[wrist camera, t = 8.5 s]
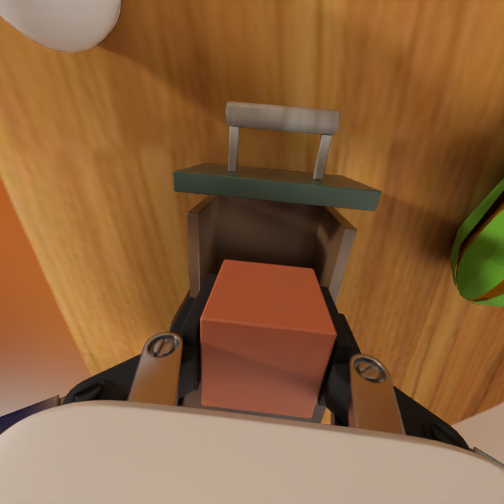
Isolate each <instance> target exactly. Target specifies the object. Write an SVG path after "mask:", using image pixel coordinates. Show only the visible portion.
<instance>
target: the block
mask: <svg viewBox="0 0 504 504" xmlns="http://www.w3.org/2000/svg"><path fill="white" fill-rule="evenodd" d="M336 336H337V333H336V330H335V327H334V324H333V322H332V319H331V316H330V314H329V311H328V308H327V305H326V303H325V300H324V297H323V294H322V292H321V289H320V286H319V283H318V281H317V278H316V275H315V272H314V270H313V269H311V268H302V267H292V266H283V265H273V264H264V263H254V262H245V261H235V260H224V261H223V264H222V266H221V269H220V271H219V274H218V276H217V279H216V281H215V284H214V286H213V289H212V291H211V294H210V296H209V298H208V301H207V303H206V306H205V308H204V311H203V313H202V316H201V318H200V340H201V404H202V405H205V406H214V407H222V408H230V409H238V410H246V411H254V412H262V413H271V414H279V415H287V416H295V417H303V418H311V417H312V414H313V411H314V407H315V404H316V401H317V398H318V394H319V391H320V388H321V385H322V381H323V378H324V375H325V372H326V368H327V365H328V362H329V359H330V355H331V352H332V349H333V346H334V342H335V339H336Z"/></svg>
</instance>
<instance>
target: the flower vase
mask: <svg viewBox="0 0 504 504" xmlns="http://www.w3.org/2000/svg"><path fill="white" fill-rule="evenodd" d="M120 10H121V0H0V16H1V17H2V18H3V19H4V20H5V21H6V22H7V23H8V24H9V25H11V26H12V27H13V28H15V29H16V30H18V31H19V32H20V33H22V34H23V35H25V36H26V37H28V38H29V39H30V40H32V41H33V42H35V43H37V44H39V45H42V46H44V47H47V48H50V49H52V50H55V51H57V52H71V53H78V52H81V51H85V50H88V49H91V48H94V47H95V46H96V45H97V44H99V43H100V42H101V41H102V40H104V39H105V38H106V36H107V35H108V34H109V33H110V32H111V31H112V29H113V28H114V26H115V25H116V23H117V21H118V17H119V14H120Z"/></svg>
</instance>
